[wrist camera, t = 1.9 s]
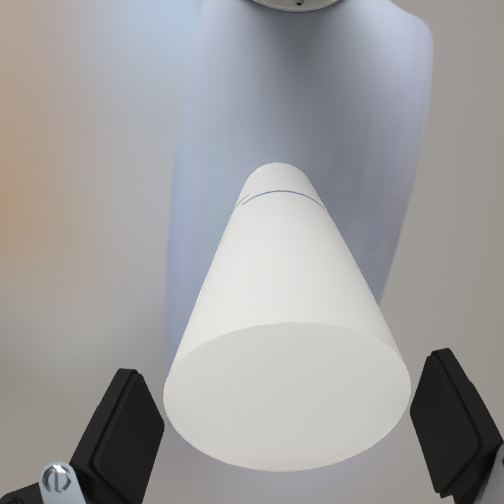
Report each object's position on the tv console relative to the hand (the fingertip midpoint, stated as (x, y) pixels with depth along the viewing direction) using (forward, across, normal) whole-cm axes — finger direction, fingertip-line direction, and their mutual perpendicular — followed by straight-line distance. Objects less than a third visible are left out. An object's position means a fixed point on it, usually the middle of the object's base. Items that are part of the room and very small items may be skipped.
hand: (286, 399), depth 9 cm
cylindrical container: (+24, 0, -1) cm, 24 cm away
